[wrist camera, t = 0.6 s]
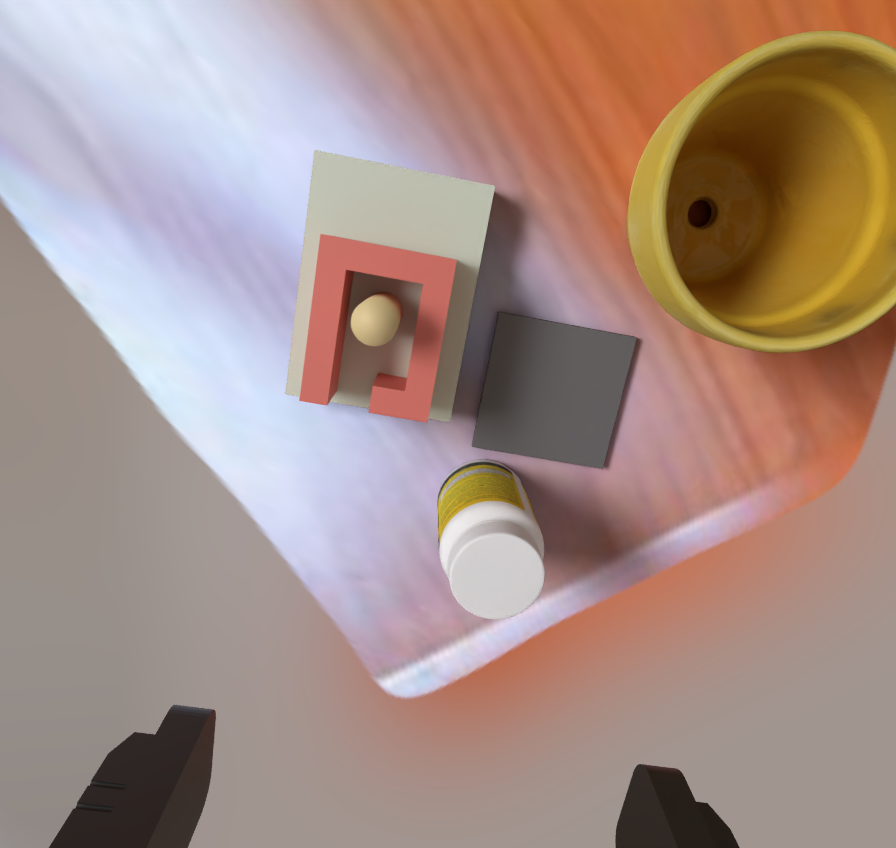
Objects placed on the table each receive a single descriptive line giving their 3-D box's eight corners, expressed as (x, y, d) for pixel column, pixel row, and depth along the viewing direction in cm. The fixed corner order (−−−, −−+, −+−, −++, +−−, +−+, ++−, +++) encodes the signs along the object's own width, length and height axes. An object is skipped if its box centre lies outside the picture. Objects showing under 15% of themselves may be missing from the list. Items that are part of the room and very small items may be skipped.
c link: (331, 235, 28) (320, 233, 26) (454, 259, 29) (456, 260, 26) (312, 386, 30) (299, 400, 27) (427, 406, 31) (427, 422, 28)
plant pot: (610, 81, 29) (697, -2, 20) (826, 118, 30) (1011, 56, 20) (566, 308, 32) (624, 333, 22) (765, 338, 32) (903, 374, 23)
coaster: (498, 311, 32) (499, 312, 31) (634, 336, 32) (636, 337, 32) (471, 444, 33) (472, 446, 33) (600, 466, 34) (602, 468, 33)
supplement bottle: (419, 495, 34) (415, 571, 26) (487, 440, 33) (505, 500, 25) (476, 556, 35) (489, 648, 27) (543, 504, 34) (577, 582, 26)
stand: (322, 156, 29) (289, 128, 23) (490, 190, 30) (508, 172, 23) (294, 385, 32) (257, 421, 25) (448, 412, 33) (453, 453, 26)
